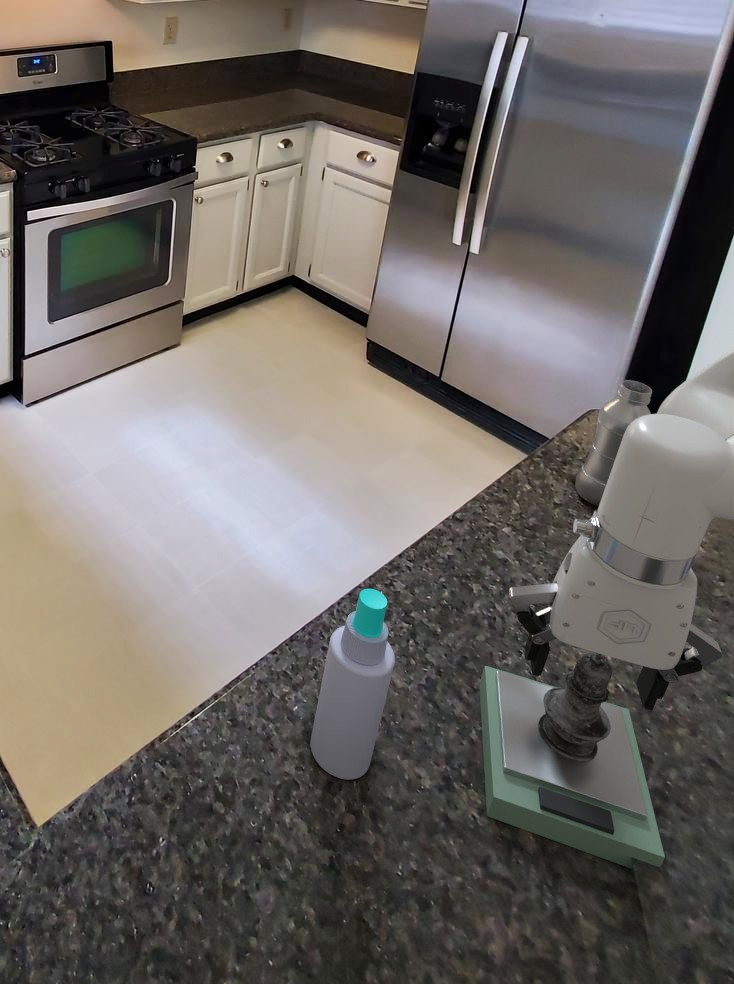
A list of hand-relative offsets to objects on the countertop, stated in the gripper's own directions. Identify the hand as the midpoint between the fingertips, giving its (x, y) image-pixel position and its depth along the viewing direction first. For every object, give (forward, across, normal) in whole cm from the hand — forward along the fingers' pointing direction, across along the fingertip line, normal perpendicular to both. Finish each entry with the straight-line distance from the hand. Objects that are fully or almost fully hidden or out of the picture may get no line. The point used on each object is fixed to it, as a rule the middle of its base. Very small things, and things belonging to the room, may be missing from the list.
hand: (587, 680), depth 78 cm
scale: (+12, 0, -1) cm, 12 cm away
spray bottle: (+12, -21, -8) cm, 26 cm away
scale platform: (+9, 0, 0) cm, 9 cm away
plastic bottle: (+12, +11, +49) cm, 52 cm away
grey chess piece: (+8, 0, 0) cm, 8 cm away
